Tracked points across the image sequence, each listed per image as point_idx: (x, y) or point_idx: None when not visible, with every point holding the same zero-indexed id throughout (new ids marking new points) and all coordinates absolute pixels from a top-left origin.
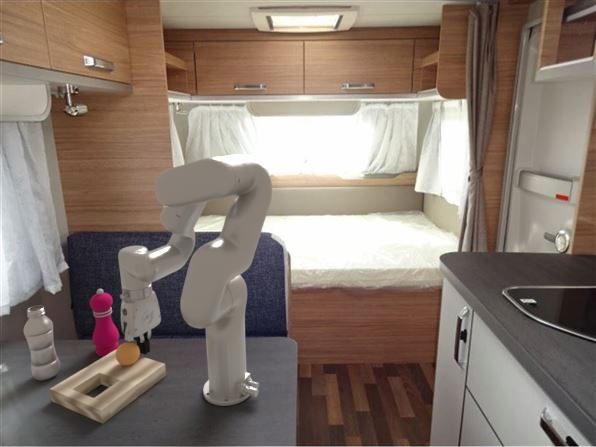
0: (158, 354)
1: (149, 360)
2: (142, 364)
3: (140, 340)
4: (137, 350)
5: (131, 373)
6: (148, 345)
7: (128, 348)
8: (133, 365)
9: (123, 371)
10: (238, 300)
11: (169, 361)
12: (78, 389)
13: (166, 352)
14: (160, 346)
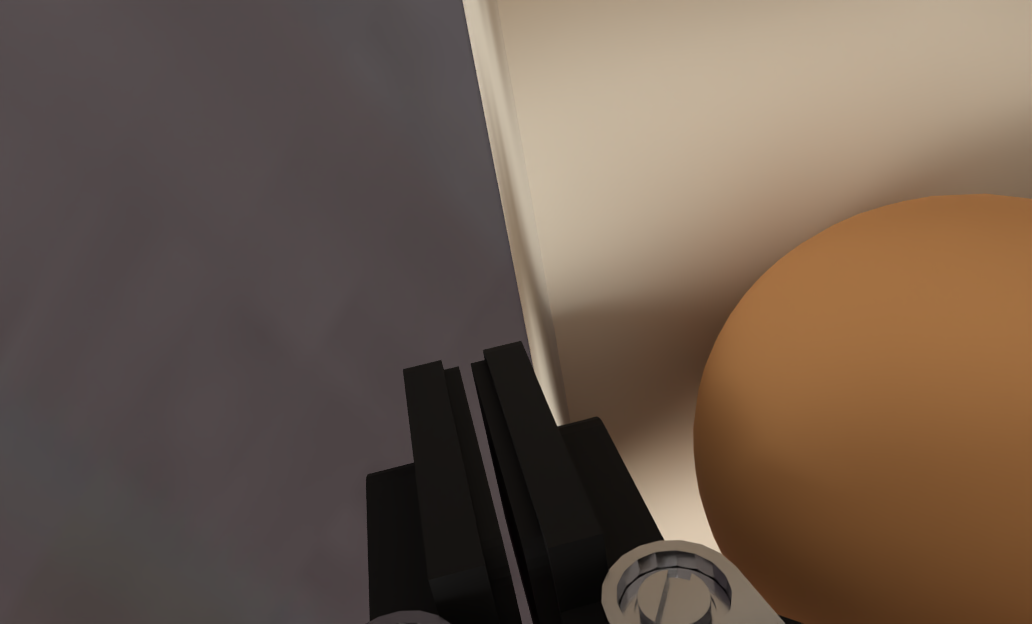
0: (161, 415)
1: (566, 130)
2: (731, 116)
3: (762, 609)
4: (952, 315)
5: (1028, 8)
6: (451, 454)
7: None
8: (825, 224)
9: (1018, 191)
10: None
11: (116, 95)
12: None
13: (24, 376)
14: (27, 574)
